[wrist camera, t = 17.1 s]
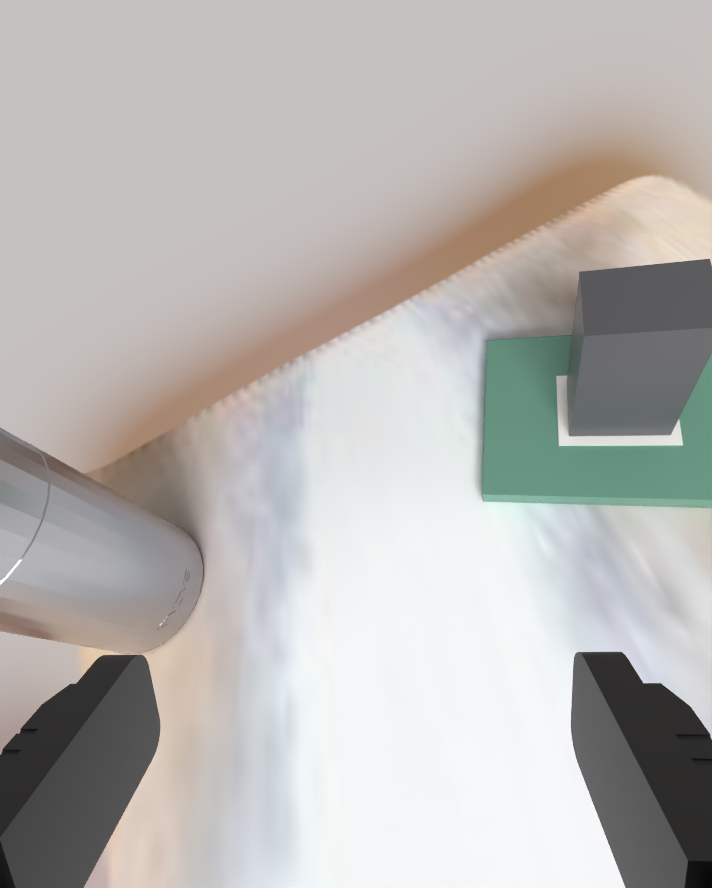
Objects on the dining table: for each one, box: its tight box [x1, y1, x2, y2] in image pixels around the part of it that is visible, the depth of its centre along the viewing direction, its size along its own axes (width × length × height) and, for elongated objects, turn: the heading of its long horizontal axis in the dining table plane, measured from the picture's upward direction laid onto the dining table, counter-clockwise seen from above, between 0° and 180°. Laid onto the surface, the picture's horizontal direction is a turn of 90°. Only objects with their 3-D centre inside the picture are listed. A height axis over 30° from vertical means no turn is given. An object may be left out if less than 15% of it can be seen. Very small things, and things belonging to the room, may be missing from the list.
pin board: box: [482, 335, 712, 508], centre depth 32 cm, size 16×12×4 cm
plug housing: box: [567, 259, 712, 436], centre depth 28 cm, size 6×4×10 cm
